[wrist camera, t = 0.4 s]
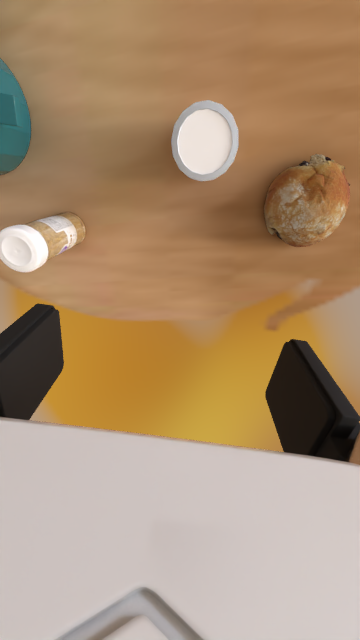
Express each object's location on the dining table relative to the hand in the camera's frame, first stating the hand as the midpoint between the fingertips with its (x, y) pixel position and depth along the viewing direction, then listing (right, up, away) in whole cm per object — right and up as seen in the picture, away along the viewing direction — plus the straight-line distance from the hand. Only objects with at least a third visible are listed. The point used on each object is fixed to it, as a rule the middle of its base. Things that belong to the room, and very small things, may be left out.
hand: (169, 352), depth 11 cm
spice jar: (-15, +15, +27) cm, 34 cm away
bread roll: (+17, +17, +24) cm, 34 cm away
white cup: (+3, +23, +22) cm, 32 cm away
